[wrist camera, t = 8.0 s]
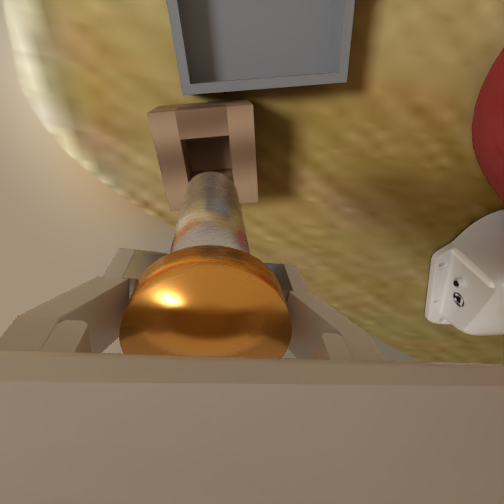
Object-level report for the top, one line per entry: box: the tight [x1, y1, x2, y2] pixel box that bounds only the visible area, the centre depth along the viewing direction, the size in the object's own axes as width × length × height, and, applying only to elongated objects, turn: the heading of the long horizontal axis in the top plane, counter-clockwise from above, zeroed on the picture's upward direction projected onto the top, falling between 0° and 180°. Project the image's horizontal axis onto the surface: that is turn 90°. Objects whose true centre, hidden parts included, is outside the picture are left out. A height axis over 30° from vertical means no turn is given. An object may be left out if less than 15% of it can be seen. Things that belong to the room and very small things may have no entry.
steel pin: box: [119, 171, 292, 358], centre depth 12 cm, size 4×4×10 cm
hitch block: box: [147, 99, 258, 211], centre depth 29 cm, size 9×9×6 cm
